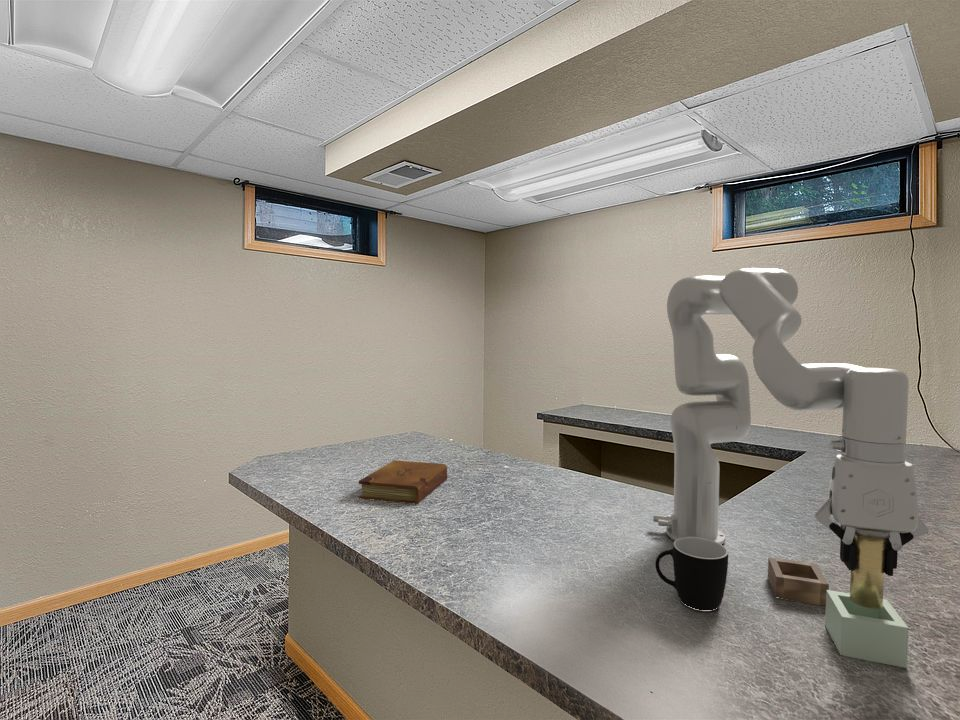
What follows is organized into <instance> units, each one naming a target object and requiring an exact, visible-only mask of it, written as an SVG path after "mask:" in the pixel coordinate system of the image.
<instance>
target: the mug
mask: <svg viewBox="0 0 960 720" xmlns="http://www.w3.org/2000/svg"><path fill="white" fill-rule="evenodd" d="M665 556H670V557H672V560H673V561H672V562H673V573H674V574H673V576H674V580H671V579H670V578H668V577H666V575H664V573H663V572H662V570H661V568H660V562H661V560H662V558H663V557H665ZM654 564H655V566H654V567H655V571H656V573H657V575H658V576H659V578H660V579H661V580H662V581H663V582H665V583H666V584H667V585H668V586H671V587H672V588H674V589H675V590H676V593H677V596H678V599H679V600H680V602H681V601H682V602H683V603H684V604H686V605H687V606H690V607H692V608H695V609H699V610H713V609H716V608H717V609H718V608H719V607H720V606H721V604H722V602H723V598H724V594H725V589H726V584H727V577H728V569H729V567H728V566H729V550H728V549H727V547H726V546H724V544H723V545H721V544H720V543H718V542H715V541H713V540H709V539H705V538H700V537H682V538H679V539H677V540H675V541H673V544H672V548H671V549H665V550H663V551H661V552H660V553H659V554H658V555H657V557H656V560H655V563H654ZM682 602H681V603H682ZM683 603H682V604H683ZM684 604H683V605H684ZM687 606H686V607H687ZM717 609H716V610H717Z"/></svg>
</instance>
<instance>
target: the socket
mask: <svg viewBox="0 0 960 720" xmlns="http://www.w3.org/2000/svg"><path fill="white" fill-rule="evenodd" d="M824 618H825V620H824V626H825V627H826V629H827V632H828V634H829V635H830V638H831V640H832V642H833V641H834V642H833V644H834V645H836V646H835V648H836V647H837V648H836V650H837V649H838V650H837V652H838V651H839V652H838V654H839V653H840V654H839V656H842V655H843V656H842V657H847V658H851V659H852V658H853V659H858V660H862V661H863V660H864V661H868V662H874V663H879V664H883V665H884V664H885V665H890V666H895V667H900V668H906V669H907V666H908V665H907V664H908V649H909V646H908V645H909V632H910V630H909V629H910V628H909V626H908V625H907V624H906V622H905V621H904V620H903V618H901V616H900V615H899V614H898V612H897V611H896V610H895V608H894V607H893V605H892V604H891V603H890V602H889V600H888V599H886V598H883V607H882V608H880V609H871V608H866V607H863V606H860V605H858V604H856V603H854V602H853V601H851V599H850V592H842V591H836V590H830V589H829V590H826V606H825V617H824Z"/></svg>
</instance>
